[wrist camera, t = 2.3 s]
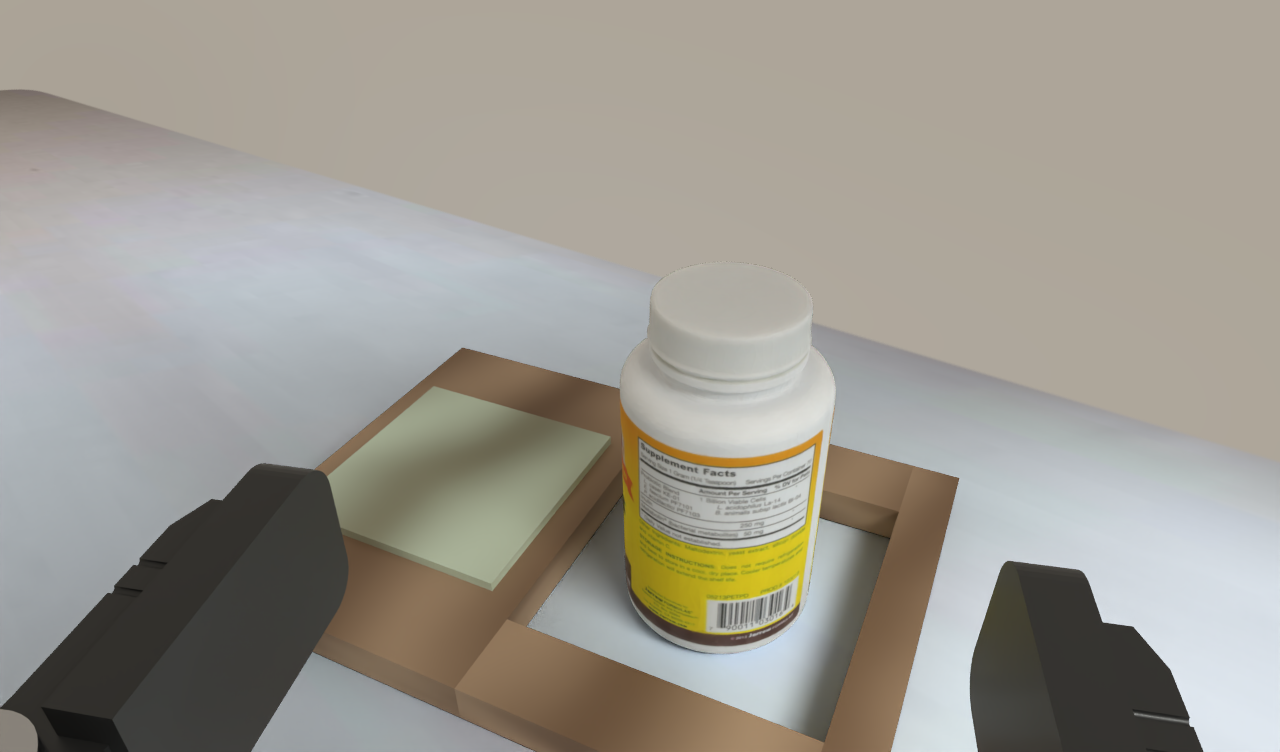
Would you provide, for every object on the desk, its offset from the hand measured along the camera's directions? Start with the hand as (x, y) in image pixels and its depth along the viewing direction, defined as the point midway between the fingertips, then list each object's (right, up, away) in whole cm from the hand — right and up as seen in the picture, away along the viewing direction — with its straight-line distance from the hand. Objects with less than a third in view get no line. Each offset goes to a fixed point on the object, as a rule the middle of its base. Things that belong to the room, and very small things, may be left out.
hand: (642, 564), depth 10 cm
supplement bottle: (+2, -5, +16) cm, 17 cm away
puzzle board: (-1, -3, +18) cm, 18 cm away
